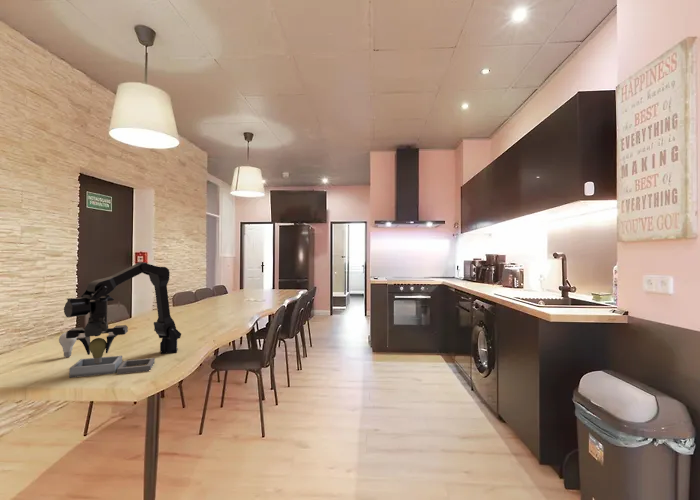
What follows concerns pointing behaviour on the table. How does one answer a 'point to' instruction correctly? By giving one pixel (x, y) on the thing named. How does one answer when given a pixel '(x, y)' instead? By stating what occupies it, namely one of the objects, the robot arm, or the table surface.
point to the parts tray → (95, 367)
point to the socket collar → (123, 369)
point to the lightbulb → (67, 344)
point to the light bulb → (97, 349)
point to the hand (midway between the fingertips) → (97, 353)
